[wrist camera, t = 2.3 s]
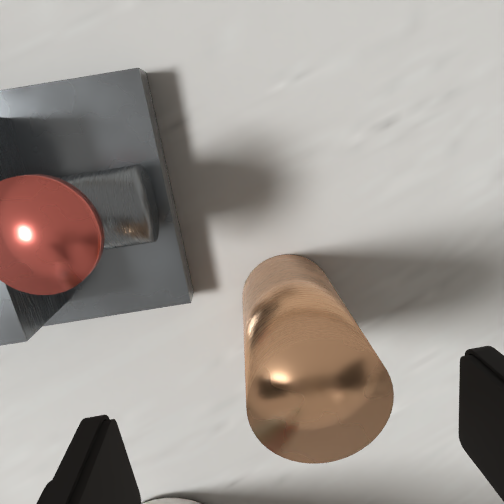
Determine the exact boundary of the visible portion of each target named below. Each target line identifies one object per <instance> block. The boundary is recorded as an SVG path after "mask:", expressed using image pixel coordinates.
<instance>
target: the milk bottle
mask: <svg viewBox="0 0 504 504" xmlns="http://www.w3.org/2000/svg"><path fill="white" fill-rule="evenodd" d="M142 504H202V503H199V502H195V501H192V500H189V499H182V498H162V499H155V500H151V501H148V502H145V503H142Z"/></svg>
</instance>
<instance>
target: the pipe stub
mask: <svg viewBox="0 0 504 504" xmlns="http://www.w3.org/2000/svg"><path fill="white" fill-rule="evenodd" d="M243 324H244V352H245V380H246V408H247V416H248V420H249V424H250V426H251V428H252V430H253V432H254V434H255V435H256V437H257V438H258V439H259V440H260V442H261V443H262V444H263V445H264V446H266V447H267V448H268V449H269V450H271V451H272V452H274V453H275V454H277V455H279V456H281V457H283V458H286V459H289V460H292V461H297V462H302V463H327V462H332V461H336V460H340V459H343V458H346V457H348V456H350V455H353V454H355V453H356V452H358V451H360V450H362V449H363V448H364V447H366V446H367V445H368V444H370V443H371V442H372V441H373V440H374V439H375V438H376V437H377V436H378V435H379V433H380V432H381V431H382V429H383V428H384V426H385V425H386V423H387V421H388V419H389V417H390V414H391V411H392V406H393V395H394V393H393V385H392V382H391V379H390V376H389V374H388V372H387V370H386V368H385V367H384V365H383V364H382V362H381V361H380V359H379V357H378V356H377V354H376V353H375V351H374V350H373V348H372V347H371V345H370V343H369V342H368V340H367V339H366V337H365V336H364V334H363V333H362V331H361V329H360V328H359V326H358V325H357V323H356V322H355V320H354V319H353V317H352V315H351V314H350V312H349V311H348V309H347V308H346V306H345V305H344V303H343V301H342V300H341V298H340V297H339V295H338V294H337V292H336V291H335V289H334V287H333V286H332V284H331V283H330V281H329V280H328V278H327V277H326V275H325V274H324V272H323V271H322V269H321V268H320V267H319V266H318V265H317V264H315V263H314V262H312V261H311V260H309V259H307V258H305V257H302V256H298V255H279V256H275V257H272V258H269V259H267V260H265V261H264V262H262V263H261V264H259V265H258V266H257V267H256V268H255V269H254V270H253V271H252V272H251V273H250V275H249V276H248V278H247V280H246V282H245V285H244V289H243Z"/></svg>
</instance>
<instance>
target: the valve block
mask: <svg viewBox="0 0 504 504" xmlns="http://www.w3.org/2000/svg"><path fill="white" fill-rule="evenodd" d="M193 294H194V291H193V287H192V282H191V277H190V273H189V268H188V264H187V259H186V254H185V250H184V245H183V241H182V236H181V231H180V227H179V222H178V218H177V213H176V208H175V204H174V199H173V194H172V190H171V185H170V181H169V176H168V171H167V167H166V162H165V158H164V153H163V148H162V144H161V139H160V135H159V130H158V125H157V121H156V116H155V111H154V107H153V102H152V98H151V93H150V88H149V84H148V79H147V75H146V72H144V71H143V70H141V69H140V68H134V69H128V70H122V71H116V72H110V73H104V74H98V75H92V76H86V77H80V78H73V79H67V80H61V81H55V82H49V83H43V84H37V85H31V86H25V87H19V88H13V89H7V90H0V345H6V344H13V343H19V342H25V341H28V340H29V339H30V338H31V337H32V336H33V335H34V334H35V333H36V332H37V331H38V330H39V329H40V328H41V327H42V326H48V325H54V324H60V323H67V322H73V321H79V320H85V319H92V318H98V317H104V316H111V315H117V314H123V313H130V312H136V311H142V310H149V309H155V308H161V307H167V306H174V305H180V304H186V303H191V301H192V297H193Z"/></svg>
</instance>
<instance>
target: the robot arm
mask: <svg viewBox="0 0 504 504" xmlns="http://www.w3.org/2000/svg"><path fill="white" fill-rule="evenodd" d="M459 439H460V442H461V445H462V447H463V448H464V450H465V451H466V453H467V454H468V455H469V457H470V458H471V459H472V461H473V462H474V463H475V464H476V466H477V467H478V468H479V470H480V471H481V472H482V474H483V475H484V476H485V478H486V479H487V480H488V481H489V483H490V484H491V485H492V487H493V488H494V489H495V491H496V492H497V493H498V495H499V496H500V497H501V498H502V500H503V501H504V356H503V355H502V354H501V353H500V352H498V351H497V350H496V349H495V348H493V347H491V346H485V347H479V348H474V349H468V350H467V351H466V352H465V356H462V357H461V359H460V389H459ZM37 504H141V497H140V493H139V489H138V486H137V483H136V480H135V477H134V474H133V471H132V468H131V465H130V462H129V459H128V456H127V453H126V450H125V447H124V443H123V440H122V437H121V434H120V431H119V428H118V425H117V422H116V421H115V419H111V420H110V419H109V417H108V416H107V415H101V416H95V417H90V418H85V419H83V420H82V421H81V423H80V425H79V427H78V429H77V431H76V433H75V435H74V437H73V439H72V441H71V443H70V445H69V447H68V449H67V451H66V453H65V455H64V457H63V459H62V461H61V463H60V466H59V468H58V470H57V472H56V474H55V476H54V478H53V480H51V481H50V482H49V483H48V484H47V485H46V487H45V488H44V490H43V492H42V494H41V496H40V498H39V500H38V502H37Z"/></svg>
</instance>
